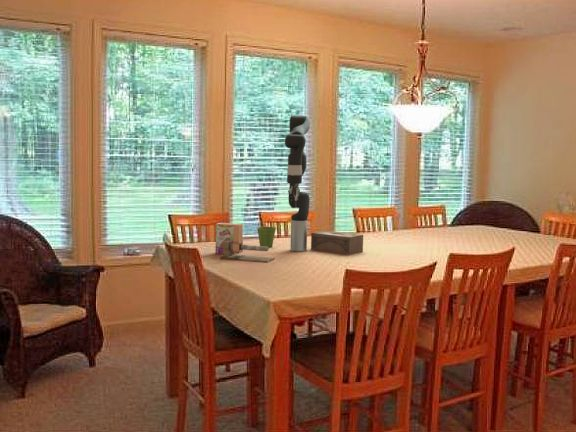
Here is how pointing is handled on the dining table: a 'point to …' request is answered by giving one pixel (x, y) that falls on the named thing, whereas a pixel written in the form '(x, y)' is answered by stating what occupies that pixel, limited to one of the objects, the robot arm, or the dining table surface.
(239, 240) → the tan wooden block
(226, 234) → the candy bar box
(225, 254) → the pipe stand
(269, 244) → the plant pot
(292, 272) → the dining table surface
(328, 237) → the tissue box cover
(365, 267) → the dining table surface
